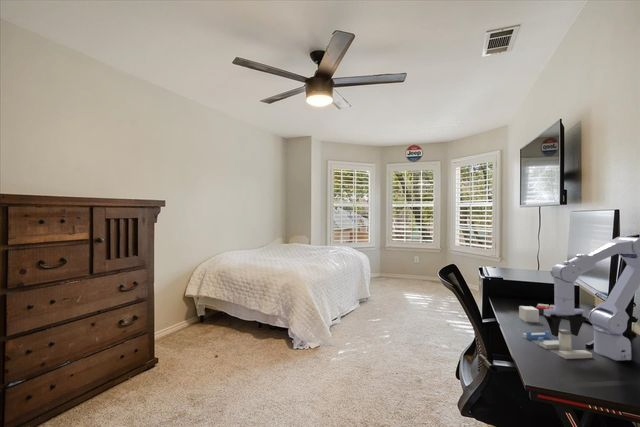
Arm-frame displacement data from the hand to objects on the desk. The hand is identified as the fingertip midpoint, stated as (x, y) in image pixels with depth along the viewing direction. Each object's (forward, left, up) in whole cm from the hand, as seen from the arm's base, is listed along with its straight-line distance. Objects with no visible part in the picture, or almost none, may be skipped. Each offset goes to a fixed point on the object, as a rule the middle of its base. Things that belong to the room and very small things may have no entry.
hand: (564, 335), depth 113 cm
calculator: (+45, -36, -8) cm, 59 cm away
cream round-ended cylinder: (0, 0, -6) cm, 6 cm away
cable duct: (+4, 0, -7) cm, 8 cm away
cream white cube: (+37, -16, -7) cm, 41 cm away
